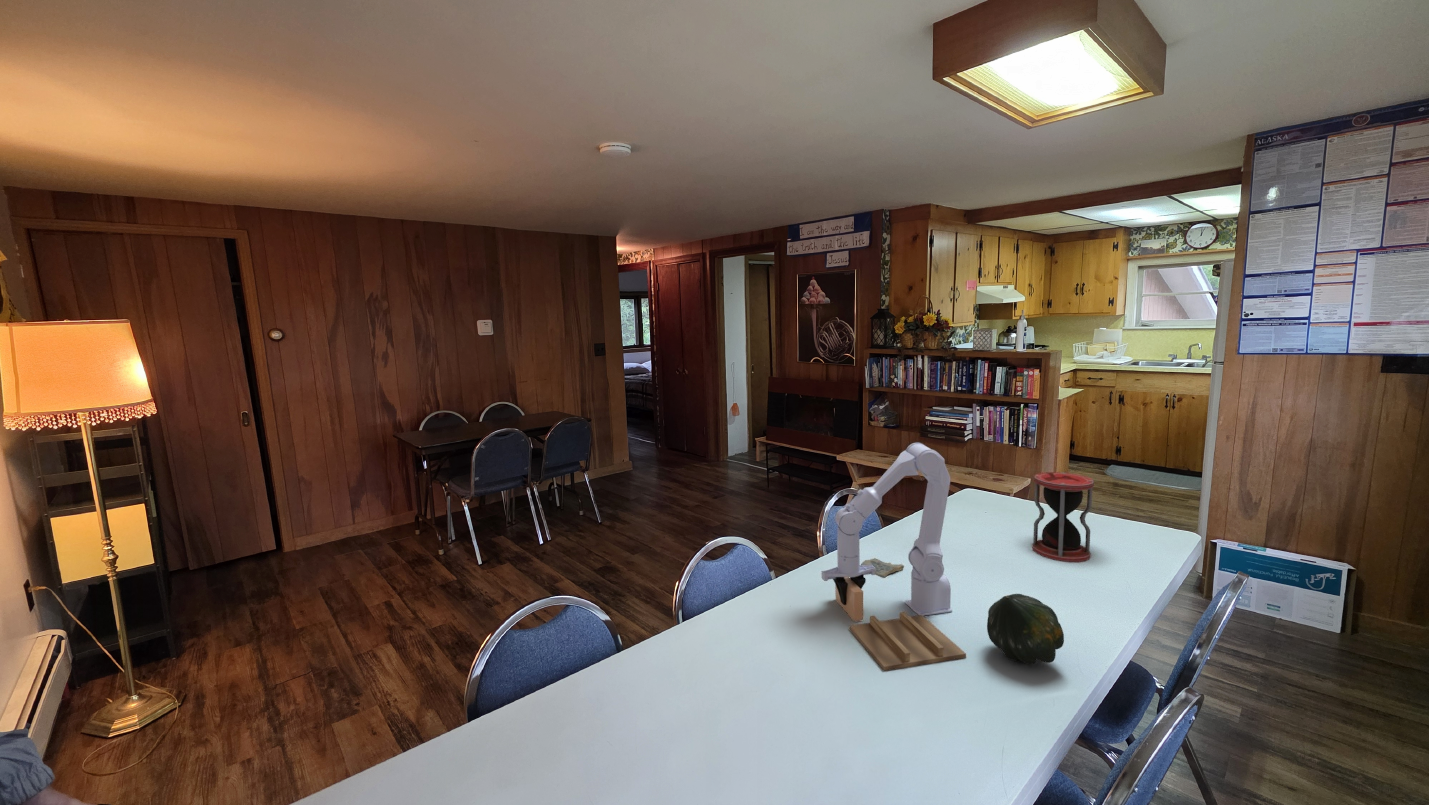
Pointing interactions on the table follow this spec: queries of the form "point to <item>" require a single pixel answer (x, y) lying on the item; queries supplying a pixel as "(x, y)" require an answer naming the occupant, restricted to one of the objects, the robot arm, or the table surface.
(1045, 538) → the hourglass
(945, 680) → the table surface
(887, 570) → the ceramic fragment
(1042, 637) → the squash
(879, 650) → the ribbed wooden panel
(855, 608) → the clay block
